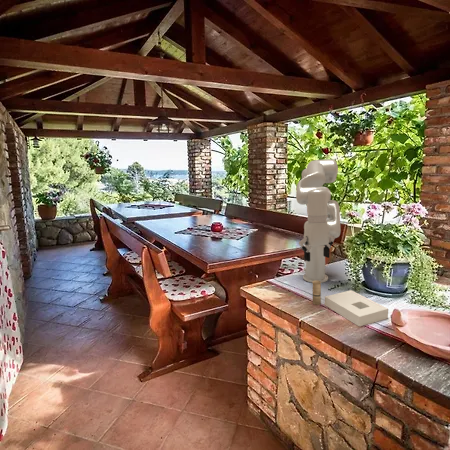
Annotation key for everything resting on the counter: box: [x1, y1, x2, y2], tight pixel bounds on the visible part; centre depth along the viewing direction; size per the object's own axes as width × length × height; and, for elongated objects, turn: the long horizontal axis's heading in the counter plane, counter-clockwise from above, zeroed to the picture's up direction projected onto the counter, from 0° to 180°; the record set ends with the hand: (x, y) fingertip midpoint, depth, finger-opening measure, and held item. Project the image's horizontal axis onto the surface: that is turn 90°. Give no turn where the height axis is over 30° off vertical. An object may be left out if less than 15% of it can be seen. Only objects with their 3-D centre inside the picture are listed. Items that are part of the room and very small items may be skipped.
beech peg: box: [311, 280, 322, 306], centre depth 139 cm, size 4×4×10 cm
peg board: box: [324, 289, 389, 328], centre depth 131 cm, size 20×14×4 cm
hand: (317, 258), depth 136 cm, fingers open, 9 cm apart
